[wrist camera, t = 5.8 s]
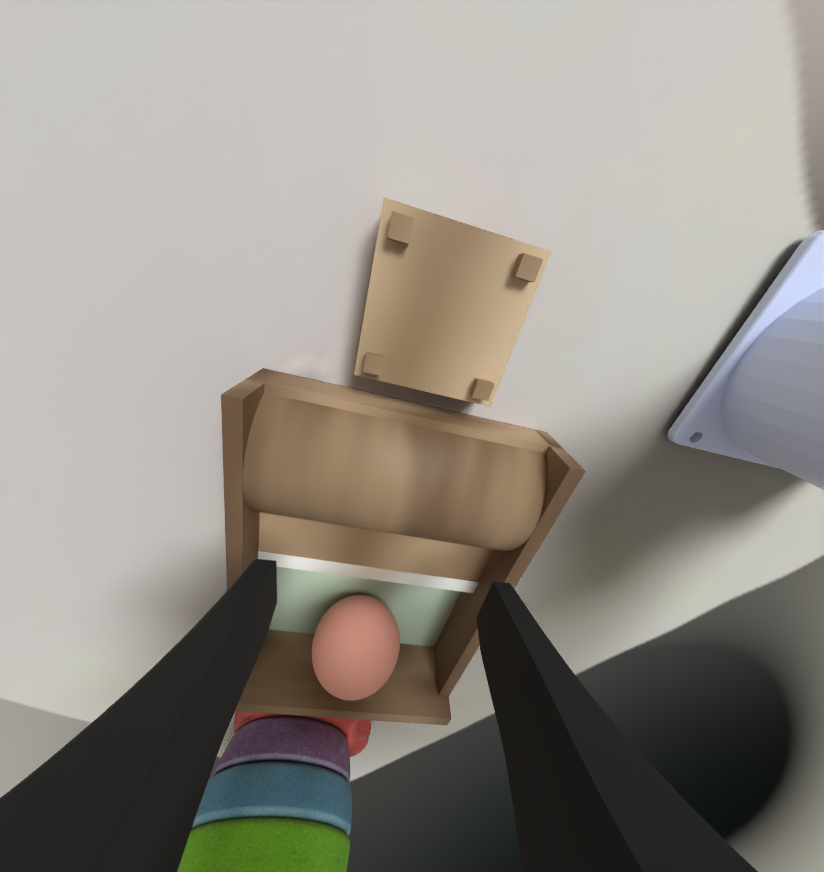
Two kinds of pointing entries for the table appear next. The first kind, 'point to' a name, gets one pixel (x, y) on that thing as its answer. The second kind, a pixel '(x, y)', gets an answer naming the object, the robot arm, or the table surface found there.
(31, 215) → the table surface
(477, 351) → the wooden footed board
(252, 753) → the stacking bear
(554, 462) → the wooden tray
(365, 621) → the ball
